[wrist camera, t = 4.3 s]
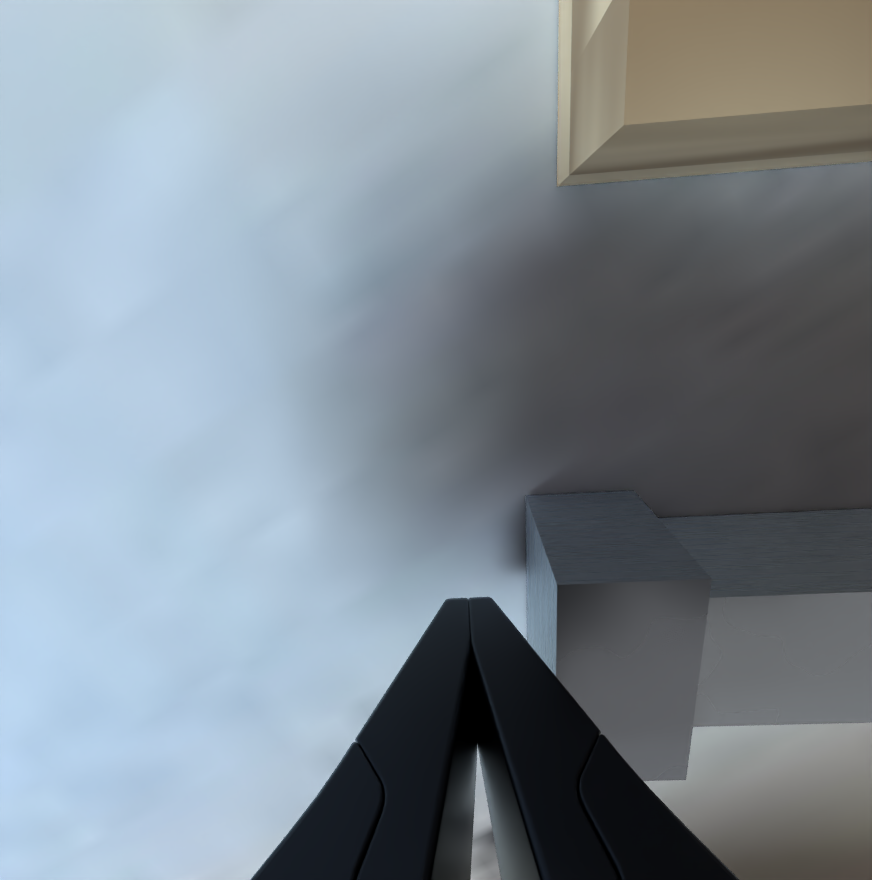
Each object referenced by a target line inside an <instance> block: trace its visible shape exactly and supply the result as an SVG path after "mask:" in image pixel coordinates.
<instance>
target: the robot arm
mask: <svg viewBox="0 0 872 880" xmlns="http://www.w3.org/2000/svg"><path fill="white" fill-rule="evenodd" d="M477 744H478V750H479V756H480V762H481V768H482V773H483V779H484V785H485V790H486V796H487V802H488V807H489V813H490V819H491V824H492V830H493V836H494V841H495V847H496V853H497V858H498V864H499V870H500V875H501V880H739V879H738V878H737V877H736V876H735V875H734V874H733V873H732V872H731V871H730V870H729V869H728V868H727V867H726V866H725V865H724V864H723V863H722V862H721V861H720V860H719V859H718V858H717V857H716V856H715V855H714V854H713V853H712V852H711V851H710V850H709V849H708V848H707V847H706V846H705V845H704V844H703V843H702V842H701V841H700V840H699V839H698V838H697V837H696V836H695V835H694V834H693V833H692V832H691V831H690V830H689V829H688V828H687V827H686V826H685V825H684V824H683V823H682V822H681V821H680V820H679V819H678V818H677V817H676V816H675V815H674V813H673V812H672V811H671V810H670V809H669V808H668V807H667V806H666V805H665V804H664V803H663V802H662V801H661V800H660V799H659V798H658V797H657V796H656V795H655V794H654V793H653V792H652V791H651V790H650V788H649V787H648V786H647V785H646V784H645V783H644V782H643V780H642V779H641V778H640V777H639V776H638V775H637V773H636V772H635V771H634V770H633V769H632V768H631V767H630V765H629V764H628V763H627V762H626V761H625V760H624V759H623V757H622V756H621V755H620V754H619V752H618V751H617V750H616V749H615V748H614V746H613V745H612V744H611V743H610V741H609V740H608V739H607V738H606V736H605V735H601V731H600V730H599V728H598V727H597V726H596V725H595V723H594V722H593V721H592V720H591V719H590V717H589V716H588V715H587V714H586V712H585V711H584V710H583V709H582V708H581V706H580V705H579V704H578V703H577V701H576V700H575V699H574V698H573V697H572V695H571V694H570V693H569V692H568V691H567V689H566V688H565V687H564V686H563V684H562V683H561V682H560V681H559V680H558V678H557V677H556V676H555V675H554V673H553V672H552V671H551V670H550V669H549V667H548V666H547V665H546V664H545V662H544V661H543V660H542V659H541V658H540V656H539V655H538V654H537V653H536V652H535V650H534V649H533V648H532V647H531V645H530V644H529V643H528V642H527V641H526V639H525V638H524V637H523V636H522V634H521V633H520V632H519V631H518V630H517V628H516V627H515V626H514V625H513V623H512V622H511V621H510V620H509V619H508V617H507V616H506V615H505V614H504V613H503V611H502V610H501V609H500V608H499V606H498V605H497V604H496V603H495V602H494V600H493V599H492V598H490V597H475V598H470V599H467V598H453V599H447V600H446V601H445V602H444V603H443V605H442V606H441V608H440V610H439V611H438V613H437V614H436V616H435V617H434V619H433V620H432V622H431V623H430V625H429V626H428V628H427V630H426V631H425V633H424V634H423V636H422V637H421V639H420V640H419V642H418V643H417V645H416V646H415V648H414V650H413V651H412V653H411V654H410V656H409V657H408V659H407V660H406V662H405V663H404V665H403V667H402V668H401V670H400V671H399V673H398V674H397V676H396V677H395V679H394V680H393V682H392V683H391V685H390V687H389V688H388V690H387V691H386V693H385V694H384V696H383V697H382V699H381V700H380V702H379V703H378V705H377V707H376V708H375V710H374V711H373V713H372V714H371V716H370V717H369V719H368V720H367V722H366V723H365V725H364V727H363V728H362V730H361V731H360V733H359V734H358V736H357V737H356V742H354V743H352V744H351V746H350V748H349V749H348V751H347V752H346V754H345V755H344V757H343V759H342V760H341V762H340V763H339V765H338V766H337V768H336V769H335V770H334V772H333V773H332V775H331V776H330V778H329V779H328V781H327V782H326V783H325V785H324V786H323V788H322V789H321V791H320V792H319V794H318V795H317V796H316V798H315V799H314V800H313V802H312V803H311V804H310V806H309V807H308V808H307V809H306V811H305V812H304V813H303V815H302V816H301V817H300V818H299V820H298V821H297V822H296V824H295V825H294V826H293V827H292V829H291V830H290V831H289V833H288V834H287V835H286V836H285V838H284V839H283V840H282V841H281V843H280V844H279V845H278V846H277V848H276V849H275V850H274V851H273V853H272V854H271V855H270V856H269V857H268V859H267V860H266V861H265V862H264V864H263V865H262V866H261V867H260V869H259V870H258V871H257V872H256V874H255V875H254V876H253V877H252V878H251V880H470V875H471V857H472V838H473V819H474V801H475V782H476V764H477Z"/></svg>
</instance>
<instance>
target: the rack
mask: <svg viewBox="0 0 872 880" xmlns="http://www.w3.org/2000/svg"><path fill="white" fill-rule="evenodd" d="M859 162H872V0H559V30H558V127H557V187H558V186H571V185H583V184H596V183H608V182H621V181H634V180H646V179H659V178H671V177H684V176H696V175H709V174H721V173H734V172H746V171H759V170H772V169H784V168H797V167H809V166H822V165H834V164H847V163H859Z"/></svg>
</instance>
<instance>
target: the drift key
mask: <svg viewBox="0 0 872 880" xmlns="http://www.w3.org/2000/svg"><path fill="white" fill-rule="evenodd" d="M526 590H527V642H528V643H529V644H530V645H531V647H532V648H533V649H534V650H535V652H536V653H537V654H538V655H539V656H540V658H541V659H542V660H543V661H544V662H545V664H546V665H547V666H548V667H549V669H550V670H551V671H552V672H553V673H554V675H555V676H556V677H557V678H558V680H559V681H560V682H561V683H562V684H563V686H564V687H565V688H566V689H567V691H568V692H569V693H570V694H571V695H572V697H573V698H574V699H575V700H576V701H577V703H578V704H579V705H580V706H581V708H582V709H583V710H584V711H585V712H586V714H587V715H588V716H589V717H590V719H591V720H592V721H593V722H594V723H595V725H596V726H597V727H598V728H599V730H600V731H601V735H605V736H606V738H607V739H608V740H609V741H610V743H611V744H612V745H613V746H614V748H615V749H616V750H617V751H618V752H619V754H620V755H621V756H622V757H623V759H624V760H625V761H626V762H627V763H628V764H629V765H630V767H631V768H632V769H633V770H634V771H635V772H636V773H637V775H638V776H639V777H640V778H641V779H642V780H643V781H655V780H686V775H687V767H688V759H689V752H690V744H691V736H692V729H693V727H703V726H744V725H784V724H825V723H865V722H872V508H869V509H847V510H825V511H803V512H781V513H759V514H737V515H715V516H694V517H672V518H658V517H657V516H656V515H655V514H654V513H653V512H652V511H651V509H650V508H649V507H648V506H647V505H646V504H645V503H644V502H643V500H642V499H641V498H640V497H639V496H638V495H637V494H636V493H635V491H634V490H632V491H612V492H591V493H570V494H550V495H529V496H526Z"/></svg>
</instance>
